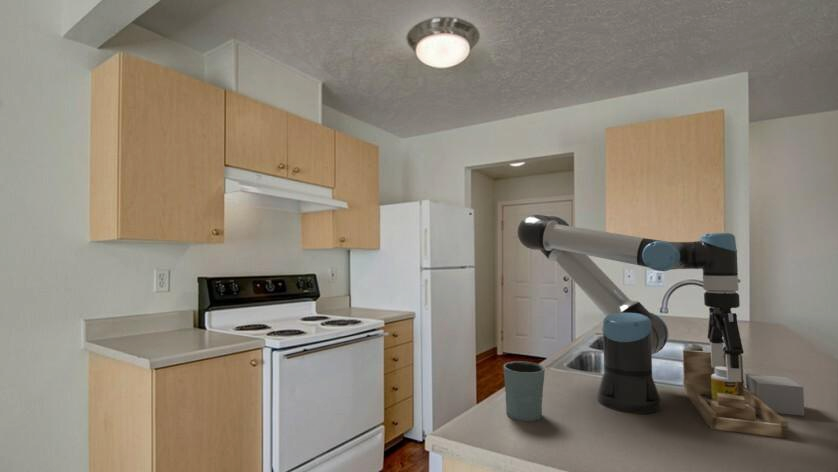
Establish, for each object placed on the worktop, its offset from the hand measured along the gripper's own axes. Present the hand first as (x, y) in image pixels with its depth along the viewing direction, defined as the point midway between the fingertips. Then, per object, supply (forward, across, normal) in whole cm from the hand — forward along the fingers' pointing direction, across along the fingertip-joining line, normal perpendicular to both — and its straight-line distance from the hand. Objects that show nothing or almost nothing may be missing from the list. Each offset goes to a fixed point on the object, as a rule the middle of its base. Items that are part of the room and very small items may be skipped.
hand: (725, 374), depth 109 cm
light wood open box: (+9, -2, 0) cm, 9 cm away
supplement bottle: (+9, 0, 0) cm, 9 cm away
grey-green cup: (+8, -23, +48) cm, 54 cm away
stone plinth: (+9, +5, -12) cm, 15 cm away
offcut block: (+4, -12, +2) cm, 13 cm away
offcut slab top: (+7, -12, +2) cm, 14 cm away
